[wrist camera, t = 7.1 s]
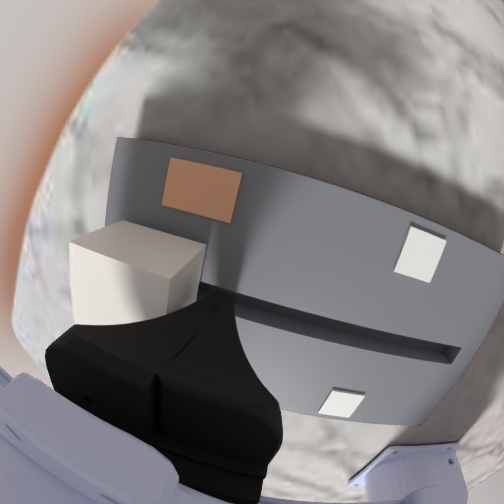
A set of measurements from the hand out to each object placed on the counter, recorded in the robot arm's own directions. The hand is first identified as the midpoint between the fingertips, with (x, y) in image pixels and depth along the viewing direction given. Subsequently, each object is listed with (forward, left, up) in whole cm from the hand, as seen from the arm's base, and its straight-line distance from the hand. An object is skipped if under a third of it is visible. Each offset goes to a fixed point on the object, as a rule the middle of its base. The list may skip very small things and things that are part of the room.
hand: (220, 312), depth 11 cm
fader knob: (+3, 0, -2) cm, 4 cm away
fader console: (-4, 0, -3) cm, 5 cm away
